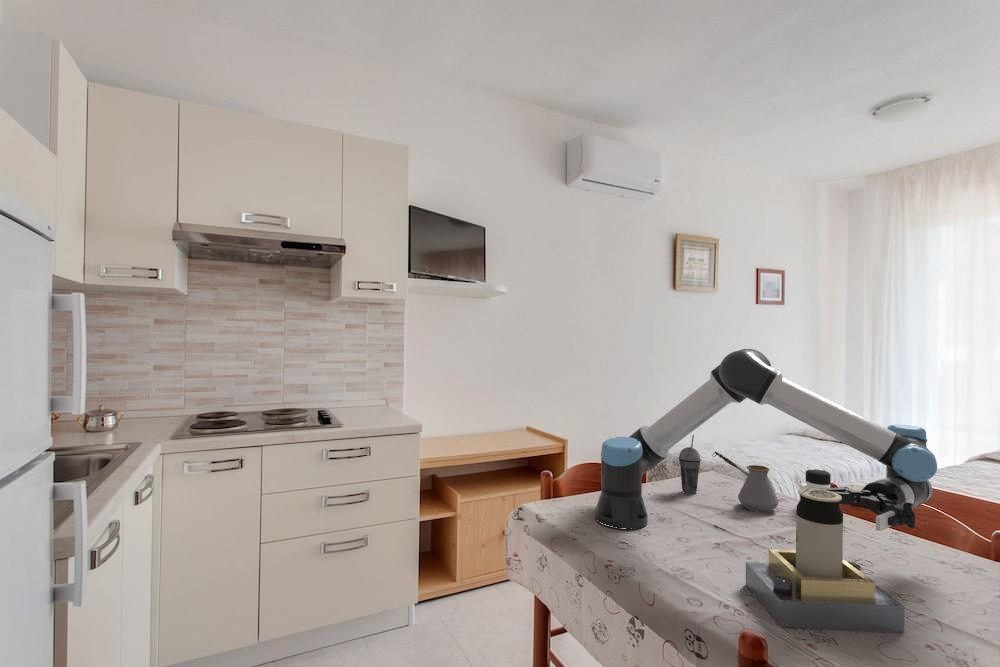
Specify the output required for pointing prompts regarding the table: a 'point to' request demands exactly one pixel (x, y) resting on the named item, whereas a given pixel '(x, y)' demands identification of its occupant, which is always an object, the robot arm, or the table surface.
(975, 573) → the table surface
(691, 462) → the beverage cup
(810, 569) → the travel mug
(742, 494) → the coffee pot
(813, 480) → the container
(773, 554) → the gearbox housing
